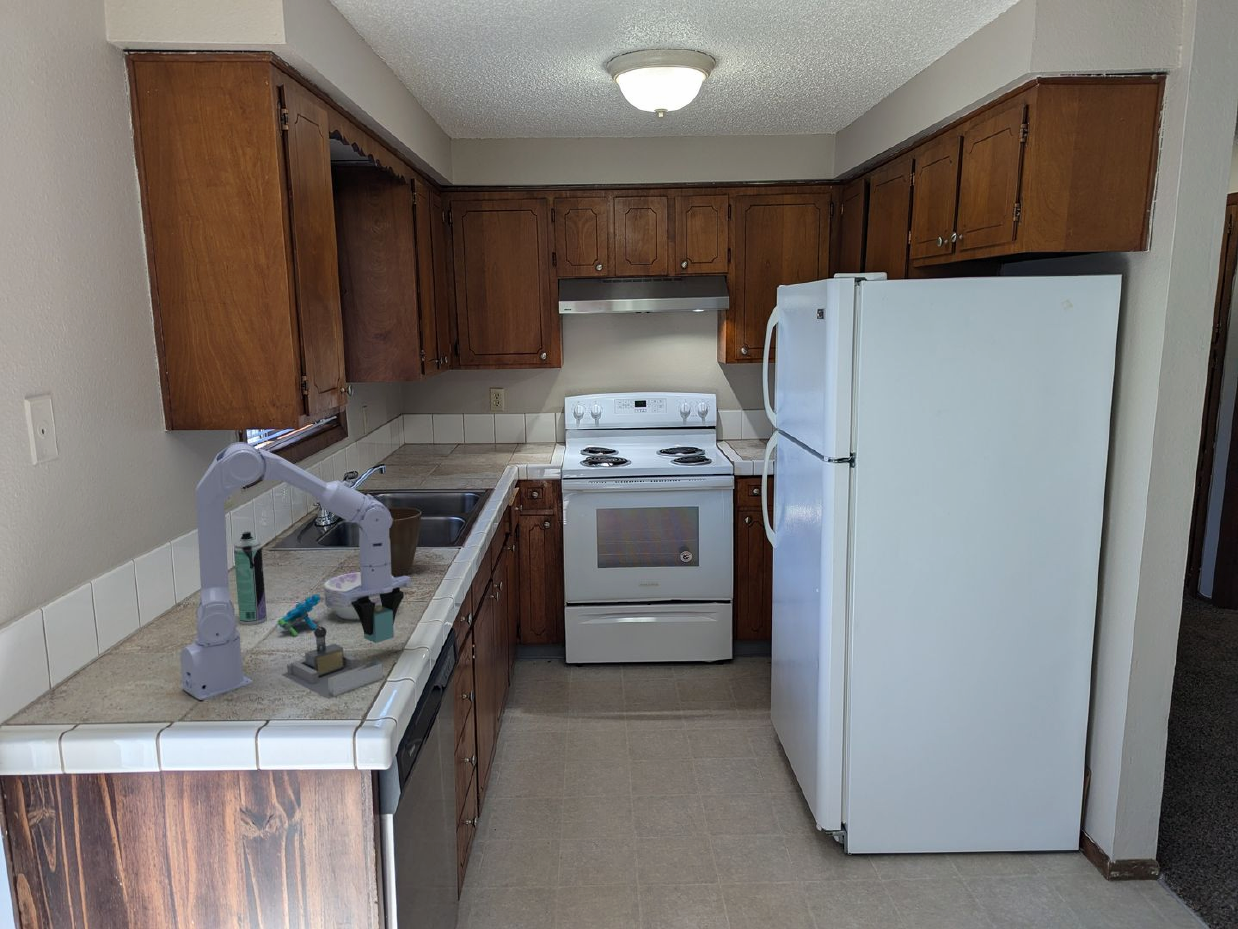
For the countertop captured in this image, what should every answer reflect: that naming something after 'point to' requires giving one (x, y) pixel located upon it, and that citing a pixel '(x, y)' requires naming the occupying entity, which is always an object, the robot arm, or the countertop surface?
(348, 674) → the base
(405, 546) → the plant pot
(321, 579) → the countertop surface
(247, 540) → the spray can
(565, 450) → the countertop surface
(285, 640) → the countertop surface
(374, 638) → the block
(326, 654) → the block
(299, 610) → the blue toy water gun
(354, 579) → the paper bowls
